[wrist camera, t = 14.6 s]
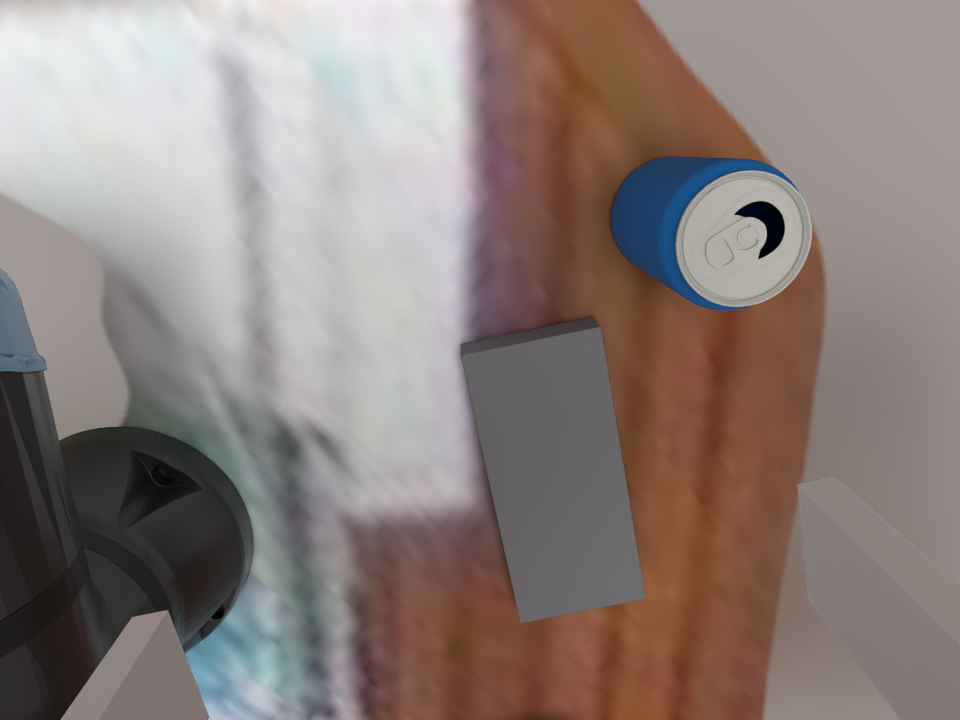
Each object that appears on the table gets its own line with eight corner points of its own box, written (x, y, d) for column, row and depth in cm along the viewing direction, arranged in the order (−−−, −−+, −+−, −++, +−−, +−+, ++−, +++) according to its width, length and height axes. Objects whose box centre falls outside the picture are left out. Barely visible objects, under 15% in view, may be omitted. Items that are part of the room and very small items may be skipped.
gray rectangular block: (517, 599, 48) (520, 623, 46) (460, 344, 43) (460, 355, 41) (636, 576, 48) (645, 598, 45) (592, 316, 43) (600, 326, 40)
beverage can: (740, 232, 42) (848, 264, 30) (642, 292, 42) (710, 345, 31) (688, 133, 40) (781, 126, 28) (587, 197, 41) (638, 216, 29)
